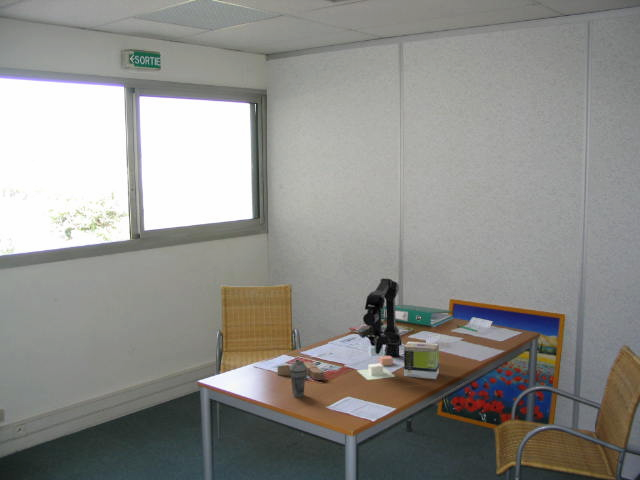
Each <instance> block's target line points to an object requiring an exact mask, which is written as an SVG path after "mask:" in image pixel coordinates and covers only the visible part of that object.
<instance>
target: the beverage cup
mask: <svg viewBox="0 0 640 480" xmlns="http://www.w3.org/2000/svg"><path fill="white" fill-rule="evenodd" d="M301 353H302V350H299V356H298V359H296V360H294V361H292V363H291V364H290V374H291V376H290V377H291V378H290V379H291V387H292V389H291V391H292V395H293V397H295V398H302V397H304V396H305V395H304V393H305V382H306V378H305V374H306V366H305V364H304V363H303V361H302V360H301V355H302V354H301Z"/></svg>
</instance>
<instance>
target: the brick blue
mask: <svg viewBox="0 0 640 480" xmlns="http://www.w3.org/2000/svg"><path fill="white" fill-rule="evenodd" d="M367 354H368V355H369V356H370V357H382V356H384V346H382V348H381V350H380V352H379V354H376V349H375V345H372V346H371V345H368V346H367Z"/></svg>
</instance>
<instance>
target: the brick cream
mask: <svg viewBox="0 0 640 480" xmlns="http://www.w3.org/2000/svg"><path fill="white" fill-rule="evenodd" d="M367 365H368V367H367V369H368V373H369V374H370V375H379V374H383V367H384V366H383V365H381V364H380V363H379V362H378V363H372V364H370V363H369V364H367Z"/></svg>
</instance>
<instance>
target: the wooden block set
mask: <svg viewBox="0 0 640 480" xmlns="http://www.w3.org/2000/svg"><path fill="white" fill-rule="evenodd" d="M302 362H303V361H302ZM303 363H304V364H305V366H306V374H305V379H306V378H307V377H309V376H310V377H309V378H311V377H312V378H311V379H312V380H314V381H317V380H323V381H325V372H324V371H323V370H322V369H320V368H319V367H318V365H315V364H314V363H313V362H311V361H304V362H303ZM290 366H291V364H282V365H277V375H278V376H284V377H291V374H290Z"/></svg>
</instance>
